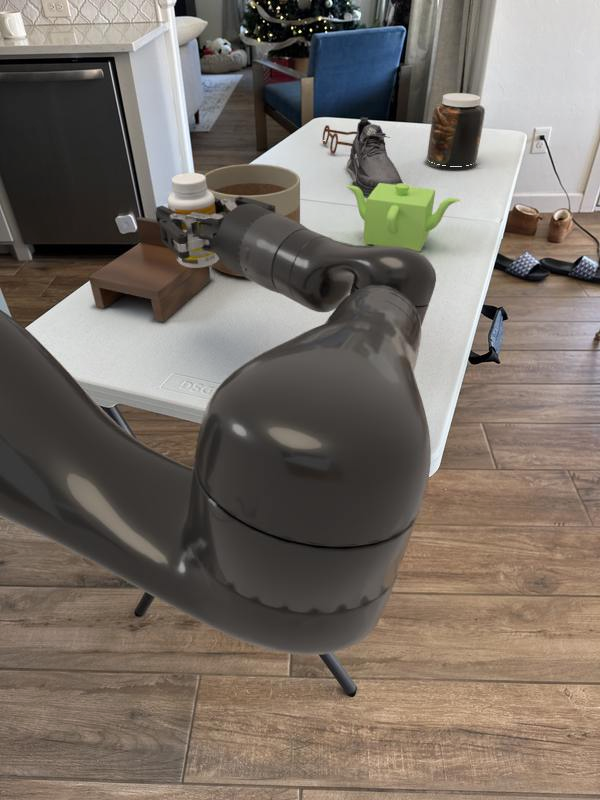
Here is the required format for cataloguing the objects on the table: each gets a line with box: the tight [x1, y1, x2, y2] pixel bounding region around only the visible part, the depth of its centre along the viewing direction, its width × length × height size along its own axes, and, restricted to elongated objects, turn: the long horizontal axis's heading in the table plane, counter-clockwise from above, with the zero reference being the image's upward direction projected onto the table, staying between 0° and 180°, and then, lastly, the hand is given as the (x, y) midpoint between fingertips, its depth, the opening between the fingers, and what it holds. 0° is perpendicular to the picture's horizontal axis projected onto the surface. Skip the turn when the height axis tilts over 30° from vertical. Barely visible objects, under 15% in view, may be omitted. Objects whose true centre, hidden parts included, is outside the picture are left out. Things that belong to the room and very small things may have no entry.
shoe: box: [346, 117, 404, 196], centre depth 128 cm, size 10×27×12 cm, turn 8°
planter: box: [203, 163, 301, 278], centre depth 96 cm, size 16×16×14 cm
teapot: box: [345, 182, 461, 253], centre depth 102 cm, size 15×13×11 cm
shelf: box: [88, 216, 212, 323], centre depth 88 cm, size 14×12×9 cm
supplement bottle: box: [167, 172, 219, 268], centre depth 70 cm, size 6×6×10 cm
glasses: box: [322, 124, 357, 155], centre depth 152 cm, size 13×13×5 cm
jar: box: [426, 92, 486, 171], centre depth 138 cm, size 12×12×15 cm
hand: (181, 208), depth 71 cm, fingers closed on supplement bottle, 5 cm apart
